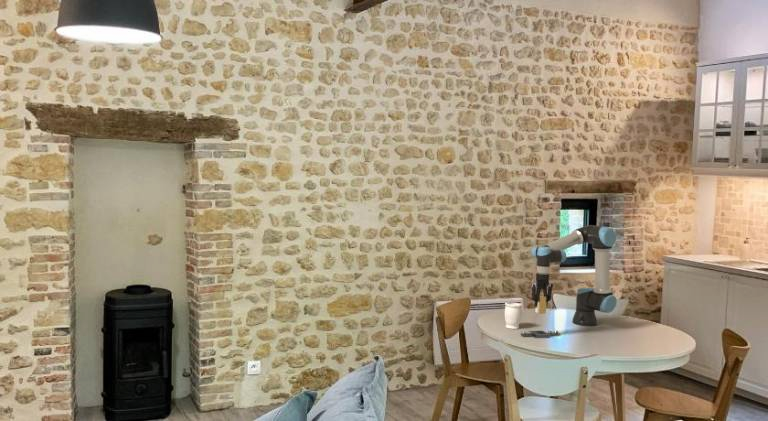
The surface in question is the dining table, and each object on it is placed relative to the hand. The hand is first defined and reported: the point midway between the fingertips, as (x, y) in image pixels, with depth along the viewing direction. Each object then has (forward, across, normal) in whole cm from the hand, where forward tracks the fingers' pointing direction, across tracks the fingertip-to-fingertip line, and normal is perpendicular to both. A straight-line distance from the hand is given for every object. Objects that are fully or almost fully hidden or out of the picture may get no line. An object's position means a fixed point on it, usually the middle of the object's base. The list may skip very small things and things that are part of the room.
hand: (540, 312), depth 395 cm
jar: (+14, +7, -21) cm, 26 cm away
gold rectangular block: (0, 0, 0) cm, 0 cm away
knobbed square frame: (+14, 0, 0) cm, 14 cm away
